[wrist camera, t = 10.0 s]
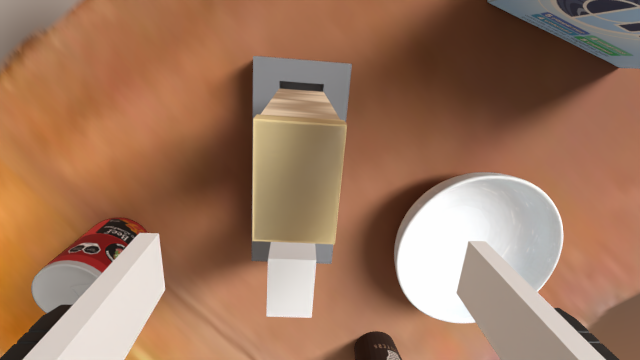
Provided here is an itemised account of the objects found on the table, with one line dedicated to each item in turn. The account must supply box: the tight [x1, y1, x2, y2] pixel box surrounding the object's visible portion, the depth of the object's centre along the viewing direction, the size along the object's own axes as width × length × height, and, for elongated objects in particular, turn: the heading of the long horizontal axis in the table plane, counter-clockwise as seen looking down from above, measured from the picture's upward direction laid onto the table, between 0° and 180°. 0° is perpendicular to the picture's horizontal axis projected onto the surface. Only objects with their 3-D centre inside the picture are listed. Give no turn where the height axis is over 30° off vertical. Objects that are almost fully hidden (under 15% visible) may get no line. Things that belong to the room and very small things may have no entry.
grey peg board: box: [252, 56, 352, 264], centre depth 40 cm, size 10×24×5 cm, turn 176°
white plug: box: [267, 242, 316, 318], centre depth 36 cm, size 4×6×16 cm, turn 176°
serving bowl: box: [394, 172, 563, 323], centre depth 44 cm, size 21×21×7 cm
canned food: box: [31, 218, 147, 313], centre depth 40 cm, size 8×8×11 cm
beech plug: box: [252, 89, 347, 244], centre depth 24 cm, size 4×6×16 cm
